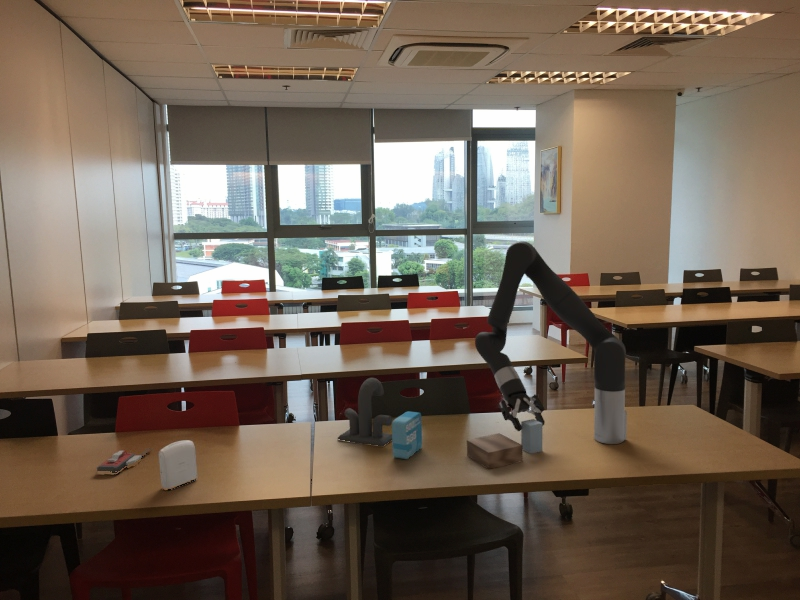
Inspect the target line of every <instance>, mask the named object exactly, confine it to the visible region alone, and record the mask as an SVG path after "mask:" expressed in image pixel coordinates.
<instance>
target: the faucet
mask: <svg viewBox="0 0 800 600" xmlns="http://www.w3.org/2000/svg"><path fill="white" fill-rule="evenodd" d="M384 393H385V392H384V386H383V384H382V382H381V381H380V380H379V379H377V378H375V377H369V378H366V380H364V381H363V383H362V384H361V386H360V388H359V391H358V395H357V410H358V411H357V412H358V413H357V412H356V410H354V409H352V408H351V407H348V408H346V409H345V410H344V416H345V418H346V419H348V420H349V422H348V423H349V429H348V430H346V431H345V432H343V433H341V434H340V435H339V436H338V437H337V440H338V439H340V440H345V441H350V442H355V443H354V444H357V443H362V444H361V445H364V444H371V445H378V446H384V445H385V444H387V443H388V442H390V441H391V440H392V433H386V432H383V426H386V427H388V426H389V427H390V426H392V423H393V417H392V416H391V415H385V414H379V415H376V416H375V417H374V418H373V417H372V415H373V414H372V397H373V396H374V397H380V396H383V395H384ZM350 442H349V443H350ZM391 442H392V441H391ZM391 442H390V443H391ZM388 444H389V443H388ZM388 444H387V445H388ZM371 445H370V446H371ZM378 446H377V447H378ZM384 447H385V446H384Z"/></svg>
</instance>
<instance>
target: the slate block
mask: <svg viewBox="0 0 800 600" xmlns="http://www.w3.org/2000/svg"><path fill="white" fill-rule="evenodd" d="M520 424H521V426H522V429H521V431H520V433H521V434H520V437H521V438H520V439H521V443H520V444H521V445H522V451H524V452H527V453H528V454H530V455H531V454H536V453H540V452H543V426H542V423H541V422H539V421H537V420H536V419H535V418H532V419H526V420H522V421H520Z"/></svg>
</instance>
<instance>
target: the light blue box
mask: <svg viewBox="0 0 800 600" xmlns="http://www.w3.org/2000/svg"><path fill="white" fill-rule="evenodd" d="M422 433H423V431H422V414H421V412H417V411H405V412H404V413H403V414H401V415H399V416H397V417H396V418H394V419H393V420H392V423H391V434H392V441H391V442H392V456H393V458H397V459H403V460H408V459H409V457H410V456H411V457H412V456H413V455H415V454H416V453H417V452H418V451H419V449H420V448H421V449H422V447H423V436H422V435H423V434H422ZM421 449H420V450H421ZM416 451H417V452H416ZM415 452H416V453H415ZM414 453H415V454H414ZM411 457H410V458H411Z"/></svg>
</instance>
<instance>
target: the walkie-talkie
mask: <svg viewBox="0 0 800 600" xmlns="http://www.w3.org/2000/svg"><path fill="white" fill-rule="evenodd" d="M149 449H151V450H152V448H150V447H148V448H147V449H146V450H144V451H143V452H142V453H141V454H139V455H137V454H136V455H135V453H133V452H128V451H127V450H118V451H117V452H114V453H113V454H112V456H111V457H109V458H107V460H105V461H104V462H102V463H101V464H99V465H98V466H97V467H96V470H97V471H110V472H111V471H112V473H117V472H118V471H120V470H121V469H122V468H124V467H125V466H128V465H129V464H132V463H135V462H136V461H138V460H139V459H141V458H142V459H143V457H142V455H143V454H144V453H146V452H147V451H148V450H149ZM97 471H96V472H97ZM115 471H117V472H115Z"/></svg>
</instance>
